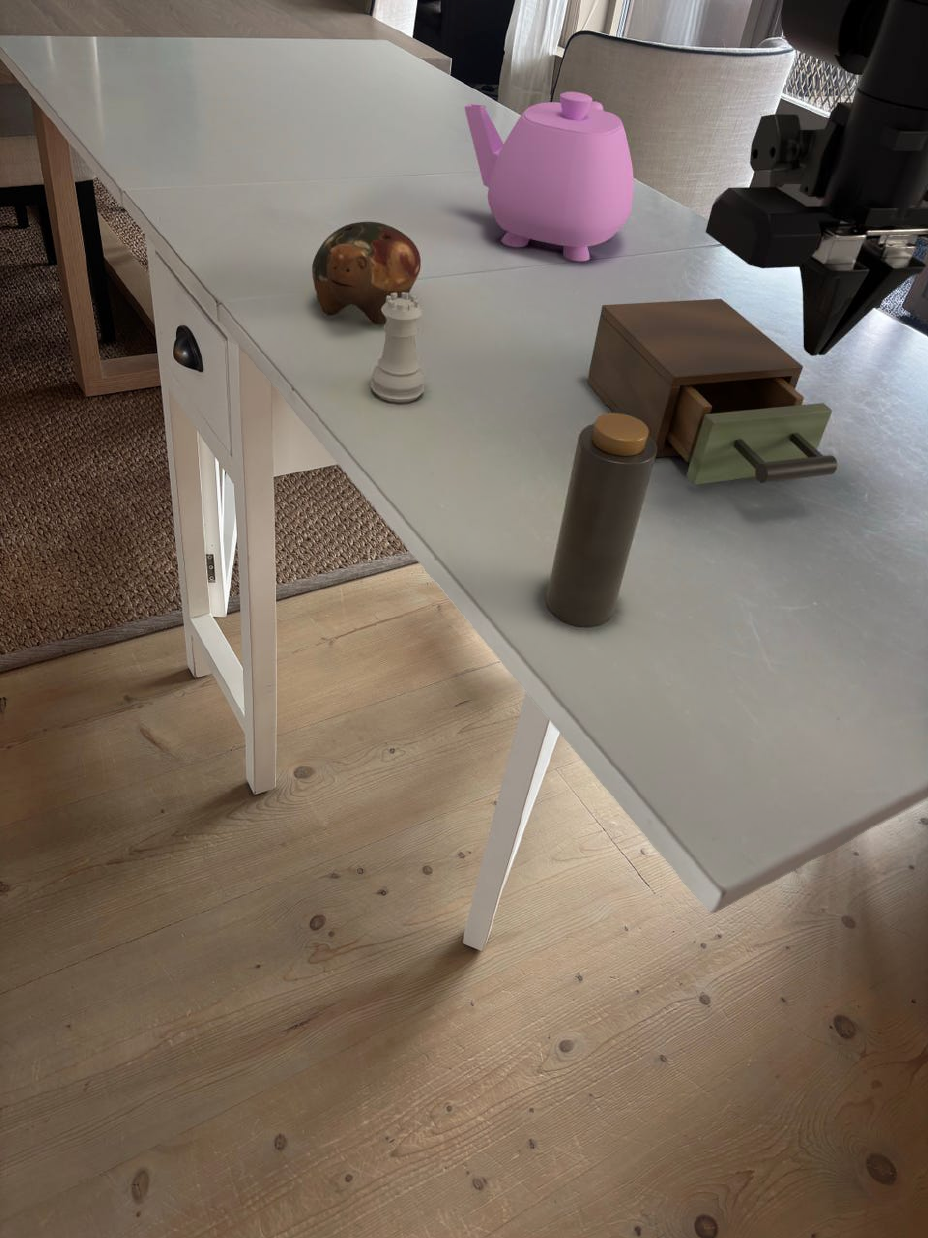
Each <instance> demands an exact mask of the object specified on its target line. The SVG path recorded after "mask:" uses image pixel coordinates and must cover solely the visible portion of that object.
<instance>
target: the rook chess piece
mask: <svg viewBox="0 0 928 1238" xmlns="http://www.w3.org/2000/svg"><path fill="white" fill-rule="evenodd" d="M419 301H420V300H419V299H418V296H417V295H415V294H412V295H411V296H410V298H409V293H404V292H402V298H397V293H396V292H395V293H391V296H387V298H386V303H385V304H384V305H383V306H382V308H381V311H382V313H383V314H384V316H385V317H386V321H385V323H384V325H383V327H382V329H383V331H384V332H385V333H384V335H385V336H384V345H383V350H382V355H381V358H379V359H378V361H377V364H376V365H375V366H374V368H373V371H372V374H371V377H372V378H373V379H372V380H371V383H370V386H371V389H372V391H373V393H374V394H375V395H376V396H377V397H378V398H380V399H381V400H384V401H386V402H391V403H397V404H402V403H403V404H404V403H409V402H413V401H415V400H417V399H418V398H419V397H420V396H421V395H422V394H423V392H424V391H425V386H424V384H423V383H424V381H425V374H424V371H423V370H422V368H421V364H420V362H419V361H418V358H417V347H416V346H417V345H416V339H417V337H416V336H417V334H418V333H419V328H418V326H417V321H418V320H419V319H420V318H421V317H422V316H423V313H424V312H423V310H422V309H421V307H420V305H419Z"/></svg>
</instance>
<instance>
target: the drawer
mask: <svg viewBox="0 0 928 1238" xmlns="http://www.w3.org/2000/svg"><path fill="white" fill-rule="evenodd" d="M804 400H805V396H803V395H802V394H801V393H800V392H799V391H798V390H797V389H796V388H795V389H794V388H793V387H792V386H791V385H789V384H788V383H787V382H786V381H785V380H784V379H782V378H781V377H774V378H762V379H750V380H739V381H727V382H715V383H703V384H692V385H680V389H679V393H678V396H677V400H676V404H675V407H674V411H673V415H672V418H671V422H670V426H669V429H668V433H667V436H666V439H667V440H668V441H669V443H670V444H671V445H672V446H673V447H674V448H675V449H676V450H677V451H678V453H679V454H680V455H679V456H681V457H682V458H683V459H684V460H685V462H687V463H689V466H688V469H687V472H686V477H687V478H688V480H689V481H690V482H691V483H692V484H693V485H700V484H708V483H716V482H717V483H718V482H725V481H733V480H741V479H751V478H756V480H757V481H758V483H761V484H766V483H773V482H774V483H775V482H781V481H782V482H783V481H790V480H798V479H799V480H800V479H805V478H814V477H822V476H829V475H833V474H835V473H836V471H837V469H838V460H837V459H836V457H835V456H834V455H832V454H827V455H823V454H822V453H821V452H820V451H819V450H818V448H819V446H820V443H821V440H822V437H824V436H823V435H824V434H825V431H826V428H827V425H828V423H829V421H830V418H831V416H832V413H833V410H832V409H831V408H830V407H828V405H827V404H825V403H824V402H819V403H809V404H803V402H804Z"/></svg>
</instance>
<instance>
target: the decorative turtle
mask: <svg viewBox="0 0 928 1238" xmlns="http://www.w3.org/2000/svg"><path fill="white" fill-rule="evenodd" d="M421 262H422V261H421V254H420V251H419V249H418V247H417V245H416V244H415V243H414V241H413V240H412V239H411V238H410V237H408V235H406V234H405V233H404V232H402V231H400V230H398V229H397V228H395V227H393V226H390V225H389V224H385V223H382V222H377V221H359V222H358V221H357V222H353V223H349V224H346V225H344V226H341V227H339V228H338V229H336V230H335V231H334V232H332V233H331V234H330V235H328V237H327V238H325V240H324V241H323V242H322V244H321V245H320V247H319V248H318V250H317V251H316V253H315V255H314V258H313V261H312V266H311V272H312V279H313V284H314V285H313V286H314V290H315V292H316V297H317V301H318V304H319V306H320V309H321V311H322V312H323V313H324V314H325V315H326V316H328V317H332V316H335V315H338V314H339V313H340V312H342V311H343V310H344V309H345V308H346V307H348V306H349V305H352V306H355V307H356V308H358V309H359V310H360V311H361V312H362V313H363V314H364V316H365V317H366V318H367V319H368V320H369V321H370V322H371V323H372V324H374V325H377V326H381V325H383V324H386V322H387V321H386V317H385V316H384V314H383V313H382V311H381V308H382V306H383V305H384V304H385V303H386V298H387V296H391V293H395V292H396V293H397V298H402V292H404V293H408V294H410V291H411V290H412V287H413V286H414V285H415V282H416V281H417V279H418V277H419V274H420V272H421V266H422V265H421Z"/></svg>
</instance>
